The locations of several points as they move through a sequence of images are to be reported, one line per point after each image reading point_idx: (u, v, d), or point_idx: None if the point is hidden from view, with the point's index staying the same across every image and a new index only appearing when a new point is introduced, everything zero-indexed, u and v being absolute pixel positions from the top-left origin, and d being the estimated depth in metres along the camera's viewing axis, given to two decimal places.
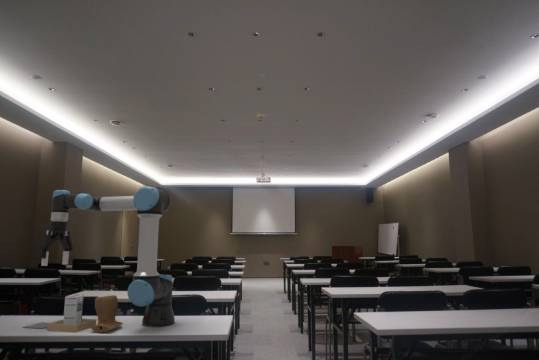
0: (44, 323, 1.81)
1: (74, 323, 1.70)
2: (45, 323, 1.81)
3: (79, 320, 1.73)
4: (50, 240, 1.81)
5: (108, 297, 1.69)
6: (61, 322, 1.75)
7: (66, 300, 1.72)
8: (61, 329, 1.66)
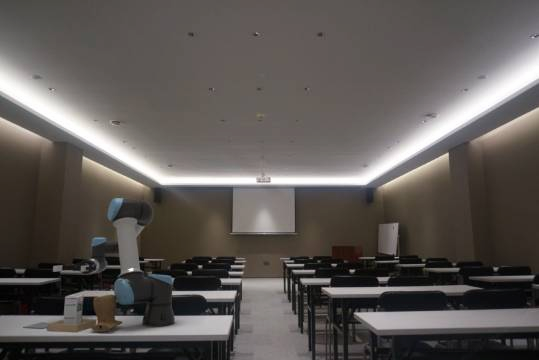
0: (44, 323, 1.81)
1: (74, 323, 1.70)
2: (45, 323, 1.81)
3: (79, 320, 1.73)
4: None
5: (106, 296, 1.69)
6: (61, 322, 1.75)
7: (66, 300, 1.72)
8: (61, 329, 1.66)
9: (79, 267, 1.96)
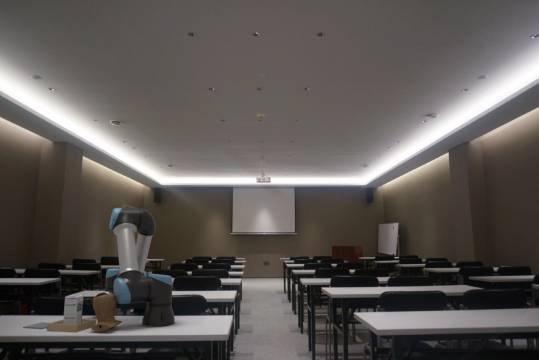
0: (44, 323, 1.81)
1: (74, 323, 1.70)
2: (45, 323, 1.81)
3: (79, 320, 1.73)
4: None
5: (105, 296, 1.69)
6: (61, 322, 1.75)
7: (66, 300, 1.72)
8: (61, 329, 1.66)
9: None
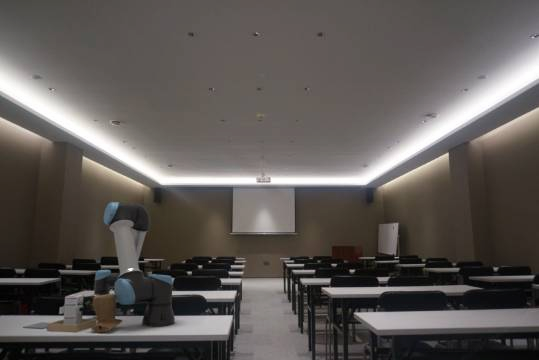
0: (44, 323, 1.81)
1: (74, 323, 1.70)
2: (45, 323, 1.81)
3: (79, 320, 1.73)
4: None
5: (106, 296, 1.68)
6: (61, 322, 1.75)
7: (66, 300, 1.72)
8: (61, 329, 1.66)
9: None
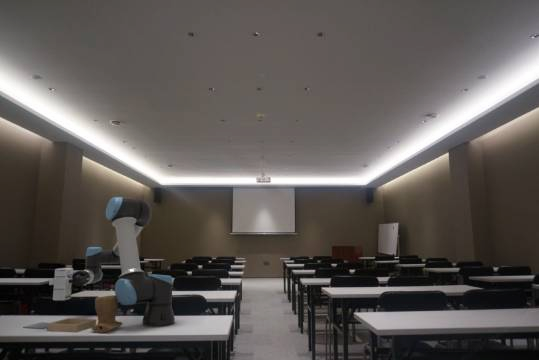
0: (44, 323, 1.81)
1: (63, 294, 1.75)
2: (45, 323, 1.81)
3: (68, 292, 1.78)
4: None
5: (108, 297, 1.69)
6: (61, 322, 1.75)
7: (56, 272, 1.77)
8: (61, 329, 1.66)
9: None
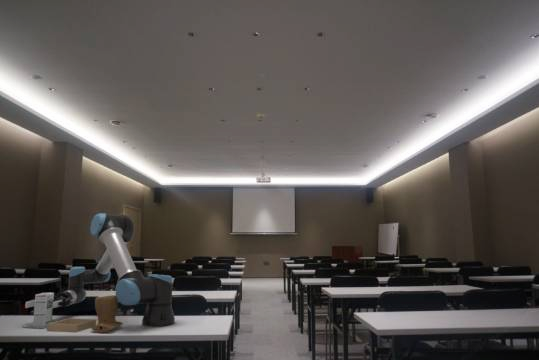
0: None
1: (44, 320, 1.75)
2: None
3: (49, 317, 1.78)
4: None
5: (108, 297, 1.69)
6: (61, 322, 1.75)
7: (36, 297, 1.77)
8: (61, 329, 1.66)
9: (54, 301, 1.88)
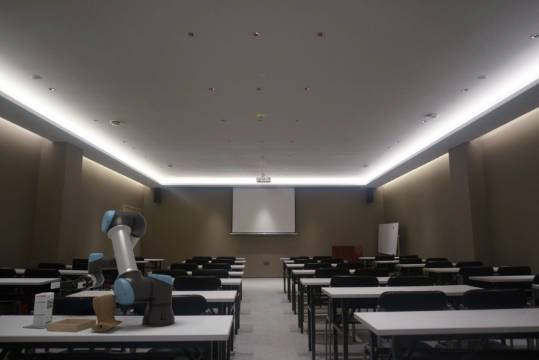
0: None
1: (44, 320, 1.75)
2: None
3: (49, 317, 1.78)
4: None
5: (106, 296, 1.70)
6: (61, 322, 1.75)
7: (36, 297, 1.77)
8: (61, 329, 1.66)
9: (76, 283, 2.01)
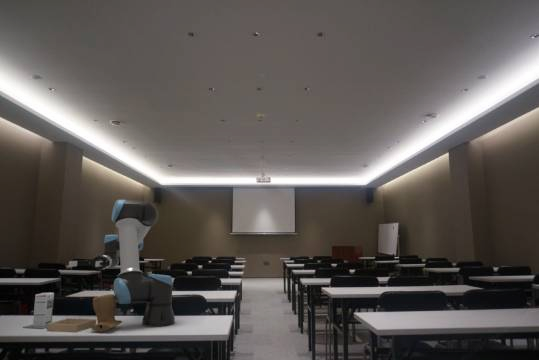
0: None
1: (44, 320, 1.75)
2: None
3: (49, 317, 1.78)
4: None
5: (106, 296, 1.70)
6: (61, 322, 1.75)
7: (36, 297, 1.77)
8: (61, 329, 1.66)
9: (93, 263, 2.04)
